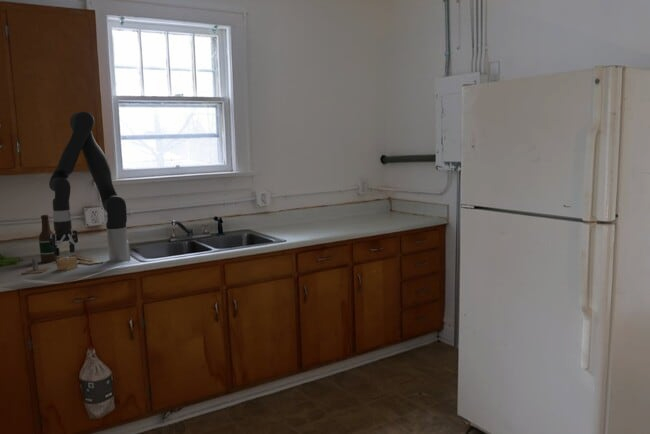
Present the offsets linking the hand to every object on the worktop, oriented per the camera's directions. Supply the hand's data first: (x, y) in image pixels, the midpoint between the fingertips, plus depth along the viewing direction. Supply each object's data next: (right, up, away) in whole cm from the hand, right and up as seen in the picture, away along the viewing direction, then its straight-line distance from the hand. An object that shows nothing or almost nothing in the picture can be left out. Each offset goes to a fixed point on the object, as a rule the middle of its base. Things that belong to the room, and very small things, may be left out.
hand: (64, 254), depth 251 cm
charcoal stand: (+1, -8, +1) cm, 8 cm away
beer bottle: (-20, -6, +24) cm, 31 cm away
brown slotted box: (+1, -7, +1) cm, 7 cm away
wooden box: (-12, -9, -2) cm, 15 cm away
